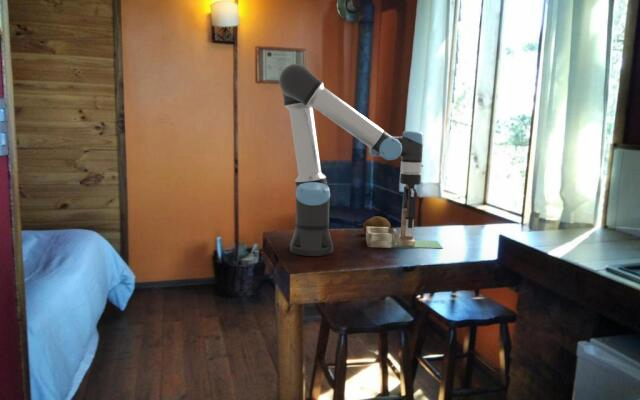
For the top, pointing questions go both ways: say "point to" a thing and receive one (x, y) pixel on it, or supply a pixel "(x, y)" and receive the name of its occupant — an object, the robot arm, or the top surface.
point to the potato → (376, 222)
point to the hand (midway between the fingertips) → (407, 233)
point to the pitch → (421, 244)
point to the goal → (378, 237)
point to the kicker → (403, 233)
